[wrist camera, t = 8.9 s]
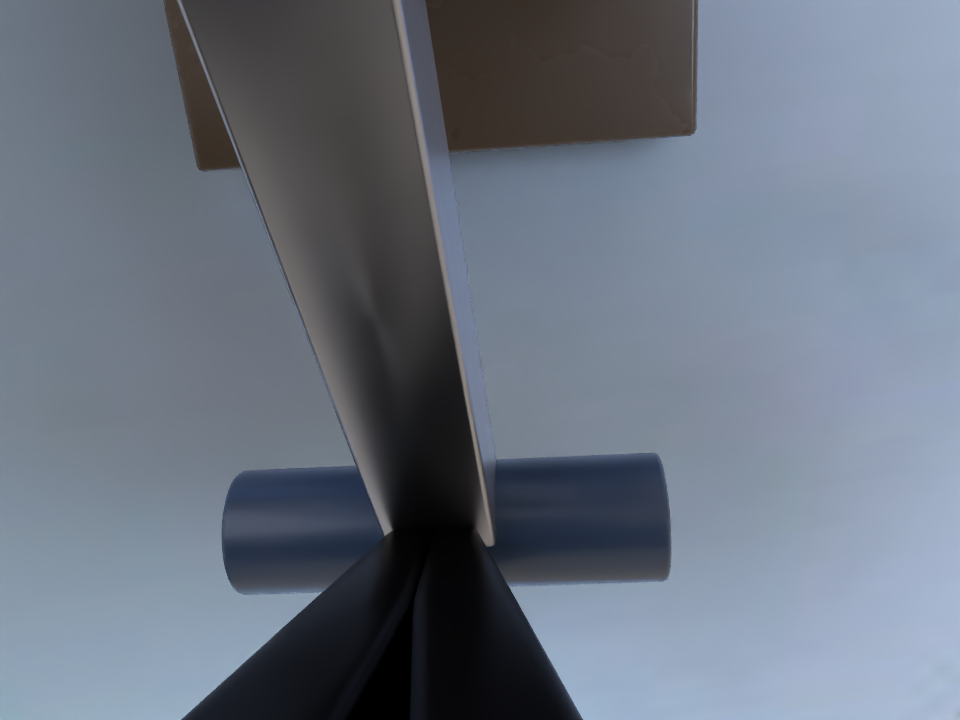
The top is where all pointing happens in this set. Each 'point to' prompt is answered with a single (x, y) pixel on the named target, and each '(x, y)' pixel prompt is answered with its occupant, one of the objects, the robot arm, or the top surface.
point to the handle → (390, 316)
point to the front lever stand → (521, 74)
